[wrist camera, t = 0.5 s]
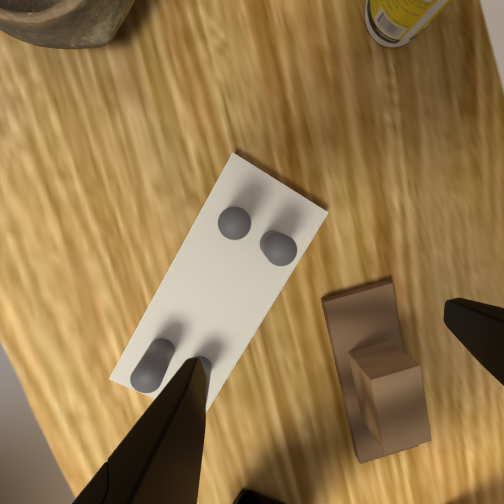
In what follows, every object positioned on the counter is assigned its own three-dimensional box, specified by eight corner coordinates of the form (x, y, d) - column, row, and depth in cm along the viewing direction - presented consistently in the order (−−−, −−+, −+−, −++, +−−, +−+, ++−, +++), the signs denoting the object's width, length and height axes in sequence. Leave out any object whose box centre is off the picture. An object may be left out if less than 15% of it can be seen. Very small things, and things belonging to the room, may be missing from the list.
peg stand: (203, 410, 25) (195, 460, 20) (114, 372, 23) (81, 415, 18) (324, 212, 22) (350, 212, 17) (232, 155, 21) (232, 136, 16)
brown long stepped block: (408, 433, 28) (451, 486, 22) (353, 450, 28) (382, 508, 22) (382, 278, 24) (425, 297, 19) (319, 296, 24) (343, 321, 19)
